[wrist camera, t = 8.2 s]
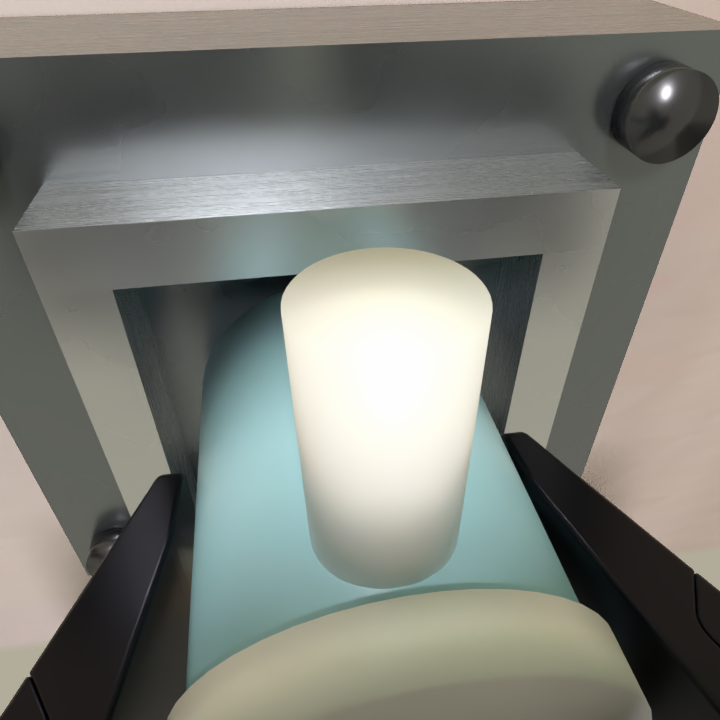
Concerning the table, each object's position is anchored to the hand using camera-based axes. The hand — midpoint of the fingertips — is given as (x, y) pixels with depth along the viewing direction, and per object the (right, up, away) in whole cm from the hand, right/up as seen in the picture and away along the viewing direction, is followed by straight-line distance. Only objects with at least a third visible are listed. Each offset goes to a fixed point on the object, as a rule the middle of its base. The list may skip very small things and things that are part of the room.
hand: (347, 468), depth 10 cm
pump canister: (0, +2, +1) cm, 2 cm away
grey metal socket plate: (-1, +4, +4) cm, 6 cm away
